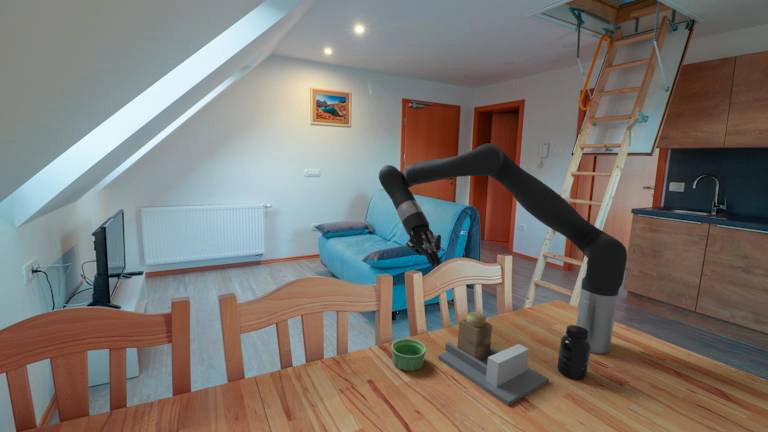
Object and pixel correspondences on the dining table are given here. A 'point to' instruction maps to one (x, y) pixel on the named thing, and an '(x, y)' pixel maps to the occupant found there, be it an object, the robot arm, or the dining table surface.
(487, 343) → the brown bottle-shaped block
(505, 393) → the mount
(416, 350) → the ramekin
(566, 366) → the supplement bottle
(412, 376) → the dining table surface
